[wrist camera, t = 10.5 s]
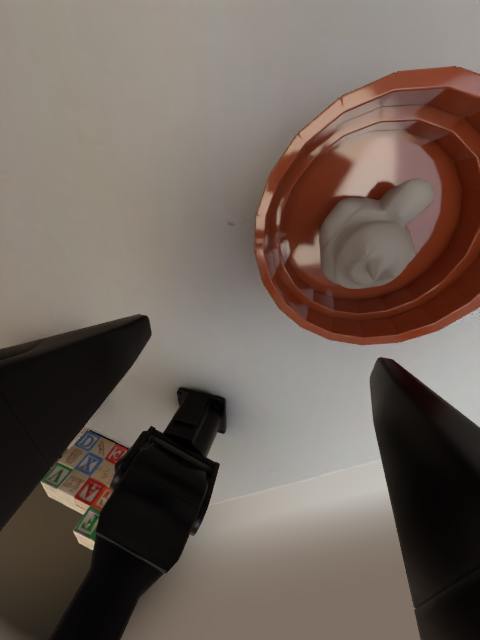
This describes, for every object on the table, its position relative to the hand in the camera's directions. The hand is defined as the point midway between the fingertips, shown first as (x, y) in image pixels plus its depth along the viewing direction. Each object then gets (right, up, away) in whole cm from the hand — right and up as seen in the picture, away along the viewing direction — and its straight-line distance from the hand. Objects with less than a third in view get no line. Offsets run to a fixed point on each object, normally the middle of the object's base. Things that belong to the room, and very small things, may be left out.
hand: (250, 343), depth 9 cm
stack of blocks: (-20, -26, +36) cm, 49 cm away
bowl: (+8, +7, +7) cm, 13 cm away
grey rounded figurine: (+8, +7, +7) cm, 13 cm away
